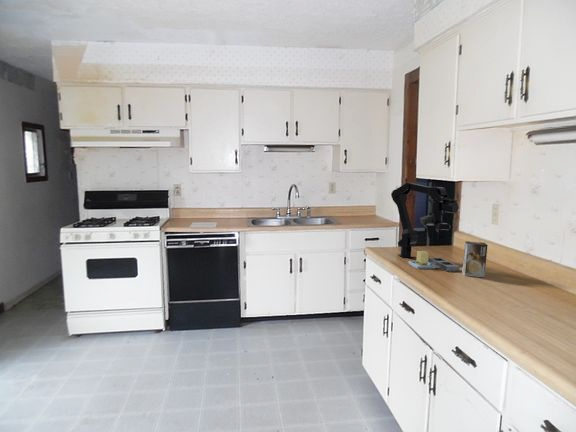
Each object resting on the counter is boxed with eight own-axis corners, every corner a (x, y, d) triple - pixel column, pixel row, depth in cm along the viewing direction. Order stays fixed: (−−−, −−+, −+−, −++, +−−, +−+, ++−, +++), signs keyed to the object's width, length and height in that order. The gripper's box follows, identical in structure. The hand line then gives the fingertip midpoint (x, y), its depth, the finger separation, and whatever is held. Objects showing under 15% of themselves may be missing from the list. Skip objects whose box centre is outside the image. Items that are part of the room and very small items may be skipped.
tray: (408, 263, 208) (408, 260, 208) (425, 263, 210) (426, 260, 210) (417, 268, 199) (417, 266, 198) (435, 268, 200) (435, 265, 200)
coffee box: (481, 274, 194) (485, 242, 191) (484, 277, 188) (488, 245, 185) (461, 272, 196) (464, 240, 194) (464, 275, 190) (467, 243, 187)
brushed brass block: (423, 263, 207) (424, 251, 206) (427, 266, 203) (428, 252, 202) (416, 263, 206) (417, 250, 205) (419, 266, 202) (421, 252, 201)
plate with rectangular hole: (428, 262, 213) (428, 257, 213) (440, 262, 215) (440, 257, 214) (446, 271, 196) (446, 266, 196) (459, 271, 197) (459, 266, 197)
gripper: (414, 208, 214) (411, 236, 217) (431, 213, 196) (429, 243, 198) (433, 208, 216) (430, 236, 218) (452, 213, 198) (449, 243, 200)
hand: (434, 239), depth 209 cm, fingers open, 9 cm apart
